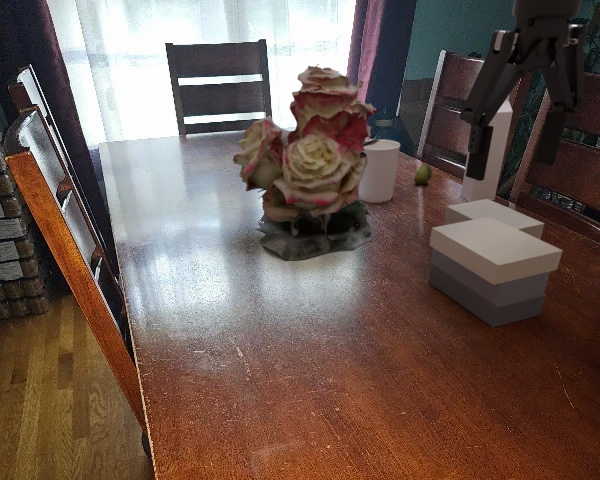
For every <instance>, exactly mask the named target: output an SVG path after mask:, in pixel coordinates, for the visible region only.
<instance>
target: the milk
mask: <svg viewBox="0 0 600 480" xmlns="http://www.w3.org/2000/svg"><path fill="white" fill-rule="evenodd" d="M510 94H511V93H510ZM510 94H509V95H508V97H507V98H506V100H505V101H504V103H503V104H502V106H501V107H500V109H499V110H498V112H497V113H496V115H495V116H494V118H493V119H492V120H491V122H490V123H489V126H493V127H494V129H493V134H492V139H491V145H490V150H489V155H488V161H487V166H486V171H485V177H484V180H482V181H478V180H475V179H472V178H469V177H466V171H467V165H468V159H469V153H470V152H468V151H467V155H466V161H465V165H464V166H465V168H464V173H463V180H462V186H461V191H460V197H461V198H463V199H464V200H465V201H467V202H469V201H470V202H472V201H477V200H483V199H489V200H494V201H495V199H496V194H497V189H498V184H499V179H500V176H501V171H502V166H503V161H504V156H505V152H506V146H507V142H508V137H509V132H510V127H511V124H512V123H511V122H512V117H513V113H514V111H513V108H512V106H511V103H510V101H509V100H510V96H511V95H510ZM484 114H485V113H484ZM484 114H483V115H484ZM465 198H466V199H465ZM468 200H469V201H468Z"/></svg>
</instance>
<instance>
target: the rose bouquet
mask: <svg viewBox="0 0 600 480" xmlns="http://www.w3.org/2000/svg"><path fill="white" fill-rule="evenodd" d="M319 65H320V64H319V63H317V64H316V65H315V66H311V65H308V66H307V68H306V69H305V70H304V71H303V72H301V73H298V75H297V81H299V82H300V83H301V87H300V89H299V90H298V91H292V92H291V95H292V98H293V100H292V101H291V102H290V104H289V110H290V112H291V114H292V116H293V118H294V120H295V122H296V126H295V129H294V130H288V129H284V128H282V127H280V126H278V124H276V123H275V122H274V120H273V119H272V116H271V115H268V116H266V117H262V118H260V119H259V120H256V121H254V122H252V125H251V126H249V127H248V128H246V129H245V130H244V133H243V139H241V140H239V141H238V142H236V144H237V145H238V146H239V148H240V149H241V150H242V151H241V152H238V153H236V154H234V155H233V157H232V162H233V164H234V165H240V166H241V168H240V172H239V175H238V176H239V178H241V182H242V183H244V184H246V186H245V187H246V188H245V192H250V191H253V190H259V191H257V193H260V192H263V191H265V192H263V193H262V195H260V196H259V197H258V199H259V200H261V198H262V201H261V204H262V206H261V207H262V211H263V215H262V216H261V217H260V219H259V220H258V221H257V222H258V225H259V227H255V229H256V230H260V231H262V232H264V233H265V234H266V235H264V236H262V237H261V238H259V239H258V241H259V243H260V245H261V246H262V247H264V248H267V249H268V250H271V251H272V252H274V253H276V254H278V255H279V257H280V258H281V259H282V260H284V261H296V260H297V261H299V260H305V259H306V260H307V259H310V258H314V257H317V256H321V255H323V254H327V253H331V252H339V251H354V250H356V249H358V247H360V246H361V245H363V244H365V243H368V242H370V241H372V240H373V238H372V228H371V227H370V225H369V222H368V220H367V219H368V218H367V216H370V217H371V216H372V215H371V213H370V212H369V210H368V208H369V206H368V204H364V203H361V200H360V197H361V196H362V195H361V196H360V197H359V192H358V190H359V185H360V182H361V179H362V176H363V174H364V172H365V168H366V166H367V163H368V158H367V154H365V153H364V152H363V151H365V150H364V146H368V145H372V144H375V143H377V142H378V141H379V140H381V139H380V138H379V139H378V138H377V139H370V140H371V141H370V142H369V141H368V142H365V141H366V139H367V138H368V137H371V136H372V135H371V129H372V126H371V125H369V124H368V123H367V121H368V120H369V118H370V117H374V116H375V114H379V113H380V111H379V110H377V108H376V107H375V106H373V105H372V103H371V102H370V103H365V102H364V101H362V100H361V99H358V96H359V95H358V94H359V90H360V89H362V88H363V86H364V82H365V81H364V80H359V81H358V82H357V83H356V84H355V85H354V84H353V83H352V82H351V81H350V79H351V77H348V76H346V75H343V74H342V73H340V71H339V70H335V69H333V68H331V67H324V68H322V67H319ZM260 221H261V222H260ZM263 222H264V223H263Z"/></svg>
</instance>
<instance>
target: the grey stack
mask: <svg viewBox="0 0 600 480" xmlns="http://www.w3.org/2000/svg"><path fill="white" fill-rule="evenodd" d="M550 275H551V271H549V272H545V273H541V274H537V275H533V276H529V277H525V278H521V279H516V280H512V281H508V282H504V283H500V284H496V285H493V284H491V283H490V282H488V281H487V280H485V279H483V278H482V277H480V276H478V275H477V274H475V273H474V272H472V271H470V270H469V269H467V268H465V267H464V266H462V265H461V264H459V263H457V262H456V261H454V260H452V259H451V258H449V257H447V256H446V255H444V254H443V253H441V252H439V251H438V250H436V249H434V248H433V247H432V252H431V260H430V269H429V278H428V284H431V285H432V286H433V287H434V288H436V289H437V290H439V291H440V292H442V293H443V294H444V295H446V296H447V297H449V298H450V299H451V300H453V301H455V302H456V303H457V304H458V305H460V306H461V307H463V308H464V309H466V310H467V311H468V312H470V313H471V314H473V315H474V316H475V317H477V318H478V319H480V320H482V321H483V322H484V323H486V324H487V325H488V326H489V327H491V328H493V329H494V328H496V327H501V326H505V325H508V324H512V323H516V322H519V321H523V320H526V319H530V318H534V317H538V316H541V314H542V310H543V306H544V304H545V300H546V297H547V294H546V293H545V291H546V287H547V285H548V281H549V277H550Z"/></svg>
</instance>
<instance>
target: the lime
mask: <svg viewBox="0 0 600 480" xmlns="http://www.w3.org/2000/svg"><path fill="white" fill-rule="evenodd" d="M432 176H433V169H432V167H431V165H429V164H428V163H423V164H422V165H421V166H420V167H419V168H418V170H417V172H416V174H415V176H414V180H413V182H414V183H415V184H417V185H425V184H427V183H428V182H429V181H431V179H432Z"/></svg>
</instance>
